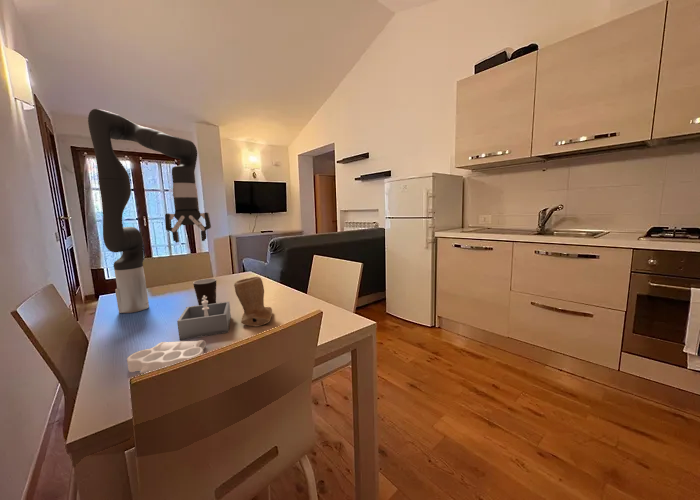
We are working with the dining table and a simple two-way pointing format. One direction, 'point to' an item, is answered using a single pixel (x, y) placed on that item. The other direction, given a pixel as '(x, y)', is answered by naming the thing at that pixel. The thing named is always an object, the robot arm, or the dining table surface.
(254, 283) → the tan upright curved piece
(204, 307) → the chess piece
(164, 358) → the white muffin tray
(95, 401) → the dining table surface
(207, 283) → the coffee mug
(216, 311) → the bin
